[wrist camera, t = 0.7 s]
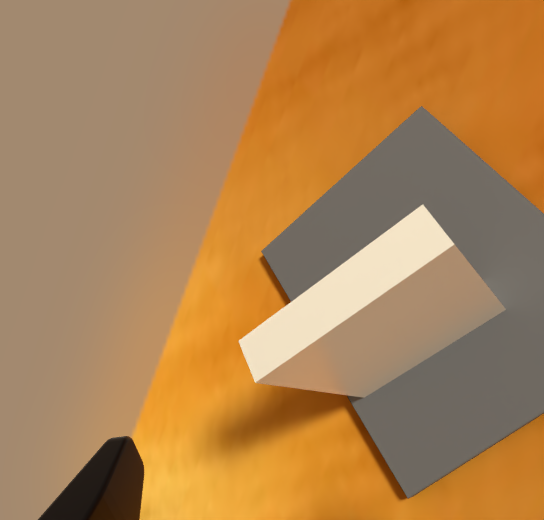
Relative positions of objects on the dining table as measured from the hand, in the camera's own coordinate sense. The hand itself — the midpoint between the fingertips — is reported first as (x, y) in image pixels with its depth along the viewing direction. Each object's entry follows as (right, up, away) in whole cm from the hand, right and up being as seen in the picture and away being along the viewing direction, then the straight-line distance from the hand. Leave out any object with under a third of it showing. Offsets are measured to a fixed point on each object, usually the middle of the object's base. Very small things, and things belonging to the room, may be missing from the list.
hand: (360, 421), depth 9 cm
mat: (+6, +2, +14) cm, 15 cm away
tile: (+5, -1, +13) cm, 14 cm away
